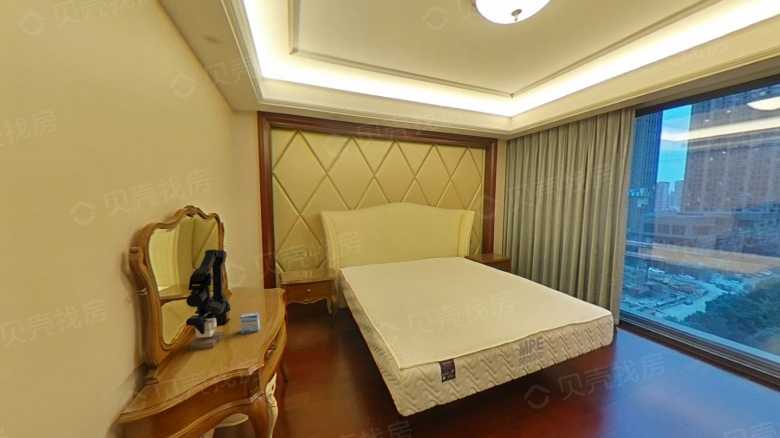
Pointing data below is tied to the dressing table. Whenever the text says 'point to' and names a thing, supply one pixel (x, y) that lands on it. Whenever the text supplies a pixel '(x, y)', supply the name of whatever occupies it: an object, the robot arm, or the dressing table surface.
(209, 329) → the maple cube
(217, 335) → the walnut block
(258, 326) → the medicine box
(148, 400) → the dressing table surface
